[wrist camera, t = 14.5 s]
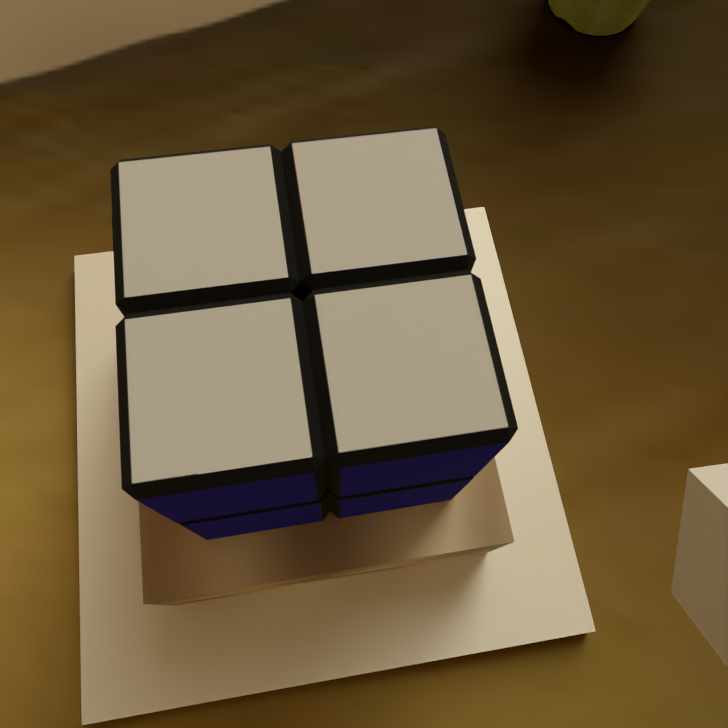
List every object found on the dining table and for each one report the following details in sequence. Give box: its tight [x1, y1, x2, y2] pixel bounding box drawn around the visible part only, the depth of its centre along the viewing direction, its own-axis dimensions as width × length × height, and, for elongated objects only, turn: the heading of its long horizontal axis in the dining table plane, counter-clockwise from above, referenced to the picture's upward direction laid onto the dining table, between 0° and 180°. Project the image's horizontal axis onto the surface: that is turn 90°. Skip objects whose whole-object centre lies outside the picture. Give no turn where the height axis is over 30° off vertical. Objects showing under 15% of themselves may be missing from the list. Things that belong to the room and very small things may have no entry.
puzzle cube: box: [110, 127, 518, 540], centre depth 23 cm, size 10×10×10 cm
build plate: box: [75, 207, 596, 725], centre depth 32 cm, size 22×22×1 cm
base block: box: [139, 457, 514, 606], centre depth 30 cm, size 14×14×5 cm
